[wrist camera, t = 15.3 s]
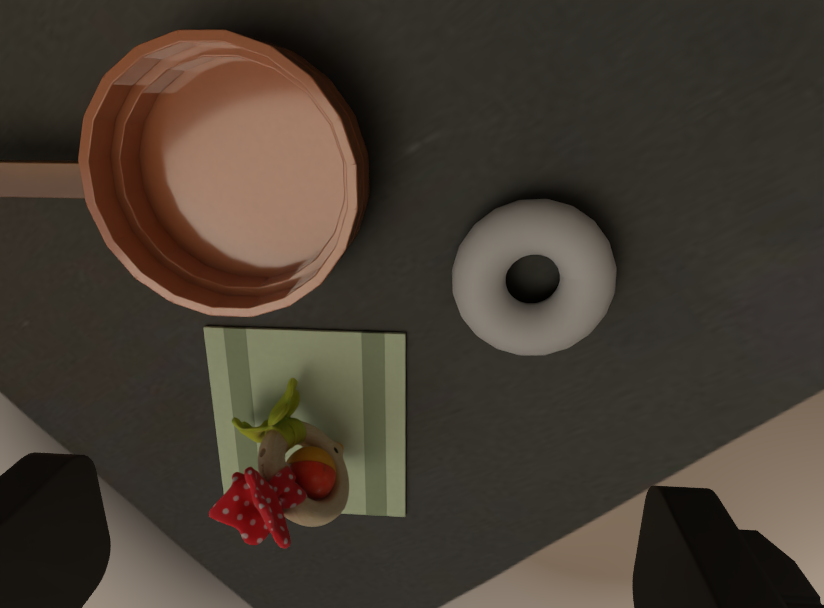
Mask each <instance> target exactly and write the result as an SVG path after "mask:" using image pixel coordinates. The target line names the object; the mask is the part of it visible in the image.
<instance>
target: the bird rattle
mask: <svg viewBox="0 0 824 608" xmlns="http://www.w3.org/2000/svg"><path fill="white" fill-rule="evenodd" d="M297 383H298V381H297V380H296V379H295V378H291V379H290V380H289V382H288V384H287V390H286V391H285V393H284V395H283V396H282V397H281V399H280V400H279V401H278V402H277V403H276V405H275V406H274V407H273V409H272V410H271V412H270V415H269V419H268V420H265V421H264V422H263V423H262V424H261V425H260V426H258V427H252V426H251V425H250V424H249V423H247V422H245V421H243V422H242V423H241V421H240V420H239V419H238V418H236V417H234V418H233V419H232V424H233V425H234V426H235V427H236V428H237V429H238V430H239V431H240V432H241V433H242V434H243V435H245V436H246V437H248V438H250V439H251V440H253V441H255V442H256V443H261V444H260V447H259V452H258V472H257V471H256V470H255V469H253V468H252V467H248V468H246V469H245V473H244V474H243V473H240V472H235V473H234V474H233V475H232V485H231V487H230V488H229V490H228V491H227V492H226V493H225V494H224V495H223V496H222V497H221V498H220V499H219V500H218V501H217V502H216V503H215V505H214V506H213V507H212V508H211V509H210V512H209V516H210V517H211V518H213V519H215V520H217V521H219V522H222V523H224V524H227V525H230V526H232V527H235V528H236V529H238V530H239V532H240V533H241V536H242V538H243V540H244V541H245V542H246V543H248V544H250V545H258V544H259V543H261V542H262V541H263V540H264V539H265V538H266V537H267V536H268V534H269V533H270V532H271V534H272V536H273V538H274V540H275V542H276V543H277V544H278V545H279V546H280V547H281V548H287V547H289V546H290V544H291V540H290V536H289V531H288V528H287V525H286V520H285V517H286V518H287V519H289V520H291V521H293V522H295V523H297V524H300V525H303V526H309V527H316V526H321V525H324V524H327V523H329V522H331V521H332V520H334V519H335V518H336V517H337V516H339V515H340V514H341V512H342V511H343V510H344V508H345V506H346V504H347V501H348V496H349V477H348V472H347V468H346V465H345V462H344V459H343V445H342V444H340V443H338V442H335V441H333V440H332V439H331V438H330V437H329V436H328V435H326V434H325V433H324V432H323V431H322V430H320V429H319V428H317V427H315V426H313V425H311V424H309V423H306V422H303V421H300V420H299V419H297V418H291V417H290V416H291V415H292V414H293V413H294V412H295V410H296V409H297V407H298V406H299V402H300V396H299V392H298V391H297V390H296V387H297ZM295 445H300V446H302V448H300V449H298V450H296V451H295V452H294V453H292V454H291V456H290V457H289V458H288V460H287V462H286V461H285V453H287V452H288V450H289V449H291V448H293V447H294V446H295Z"/></svg>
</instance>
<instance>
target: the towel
mask: <svg viewBox="0 0 824 608" xmlns="http://www.w3.org/2000/svg"><path fill="white" fill-rule="evenodd" d="M204 336H205V344H206V352H207V360H208V368H209V376H210V384H211V393H212V401H213V409H214V417H215V425H216V433H217V441H218V450H219V458H220V466H221V474H222V482H223V490H224V494H225V493H226V492H227V491H228V490H229V488H230V487H231V485H232V475H233V474H234V473H235V472H240V473H243V474H244V473H245V469H246V468H248V467H252V468H253V469H255V470H256V471H257V472H258V452H259V447H260V444H261V443H256V442H255V441H253V440H251V439H250V438H248V437H246V436H245V435H243V434H242V433H241V432H240V431H239V430H238V429H237V428H236V427H235V426H234V425H233V424H232V419H233V418H234V417H236V418H238V419H239V420H240V421H241V423H242V422H243V421H245V422H247V423H249V424H250V425H251V426H252V427H258V426H260V425H261V424H262V423H263V422H264V421H265V420H268V419H269V415H270V412H271V410H272V409H273V407H274V406H275V405H276V403H277V402H278V401H279V400H280V399H281V397H282V396H283V395H284V393H285V391H286V390H287V384H288V382H289V380H290V379H291V378H295V379H296V380H297V381H298V383H297V387H296V390H297V391H298V392H299V396H300V402H299V406H298V407H297V409H296V410H295V412H294V413H293V414H292V415H291V416H290V417H291V418H297V419H299V420H300V421H303V422H306V423H309V424H311V425H313V426H315V427H317V428H319V429H320V430H322V431H323V432H324V433H325V434H326V435H328V436H329V437H330V438H331V439H332V440H333V441H335V442H338V443H340V444H342V445H343V459H344V462H345V465H346V468H347V472H348V477H349V496H348V501H347V504H346V506H345V508H344V510H343V511H342V512H341V513H344V514H362V515H377V516H397V517H405V515H406V333H399V332H369V331H340V330H310V329H281V328H251V327H221V326H205V327H204ZM300 448H302V446H300V445H295V446H294V447H293V448H291V449H289V450H288V452H287V453H285V461H286V462H287V460H288V458H289V457H290V456H291V454H292V453H294V452H295V451H296V450H298V449H300Z"/></svg>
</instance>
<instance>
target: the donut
mask: <svg viewBox="0 0 824 608" xmlns="http://www.w3.org/2000/svg"><path fill="white" fill-rule="evenodd" d="M527 255H542V256H546V257H548V258H550V259H551V260H552V261H553V262H554V263H555V264H556V266H557V267H558V270H559V273H560V282H559V284H558V287H557V289H556V290H555V292H554V293H553V294H552V295H551V296H550V297H549V298H547V299H546V300H544V301H541V302H538V303H524V302H520V301H518V300H516V299H515V298H513V297H512V296H511V295H510V293H509V292H508V290H507V287H506V274H507V271H508V269H509V268H510V267H511V265H512V264H513V263H514V262H515V261H517V260H518V259H520V258H521V257H524V256H527ZM616 270H617V268H616V264H615V260H614V257H613V253H612V250H611V246H610V243H609V241H608V239H607V238H606V236H605V235H604V234H603V232H602V231H601V229H600V228H599V227H598V225H597V224H596V222H595V221H594V220H592V219H591V218H589V217H588V216H587V215H585V214H584V213H582V212H581V211H579V210H578V209H576V208H575V207H574V206H570V205H567V204H564V203H560V202H557V201H553V200H550V199H528V200H518V201H515V202H513V203H510V204H507V205H504V206H501V207H498V208H496V209H494V210H493V211H492V212H490V213H489V214H488V215H486V216H485V217H484V218H482V219H481V220H480V221H478V222H477V223H476V224H475V225H474V226H473V227H472V229H471V230H470V231H469V233H468V234H467V236H466V237H465V239H464V240H463V241H462V243H461V244H460V246H459V249H458V252H457V255H456V258H455V261H454V265H453V268H452V286H453V295H454V298H455V301H456V304H457V306H458V309H459V312H460V314H461V317H462V318H463V320H464V321H465V322H466V323H467V324H468V326H469V327H470V328H471V329H472V331H473V332H474V333H475V334H476V336H478V337H479V338H481V339H482V340H484V341H485V342H487V343H489V344H490V345H492V346H493V347H495V348H496V349H499V350H503V351H506V352H510V353H513V354H517V355H547V354H550V353H553V352H557V351H560V350H563V349H567V348H569V347H571V346H572V345H574V344H575V343H577V342H578V341H580V340H581V339H583V338H584V337H586V336H588V335H589V334H590V333H591V332H592V331H593V329H594V328H595V327H596V326H597V325H598V324H599V322H600V321H601V320H602V319H603V318H604V316H605V315H606V313H607V310H608V308H609V306H610V303H611V301H612V298H613V296H614V294H615V284H616Z"/></svg>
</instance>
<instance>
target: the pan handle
mask: <svg viewBox="0 0 824 608" xmlns="http://www.w3.org/2000/svg"><path fill="white" fill-rule="evenodd" d="M0 197H31V198H85V195H84V189H83V184H82V178H81V173H80V167H79V162H78V161H53V160H0Z"/></svg>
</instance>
